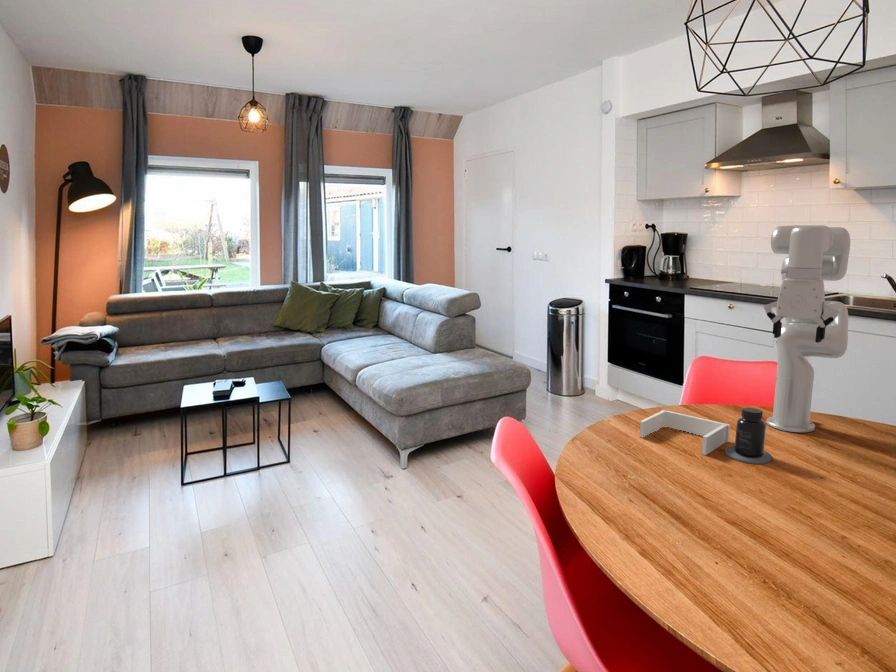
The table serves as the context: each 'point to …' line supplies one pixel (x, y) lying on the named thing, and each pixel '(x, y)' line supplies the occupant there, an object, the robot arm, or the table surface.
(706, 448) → the white u-shaped bracket
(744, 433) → the supplement bottle
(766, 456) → the mat
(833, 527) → the table surface
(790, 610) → the table surface
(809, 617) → the table surface
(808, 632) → the table surface
